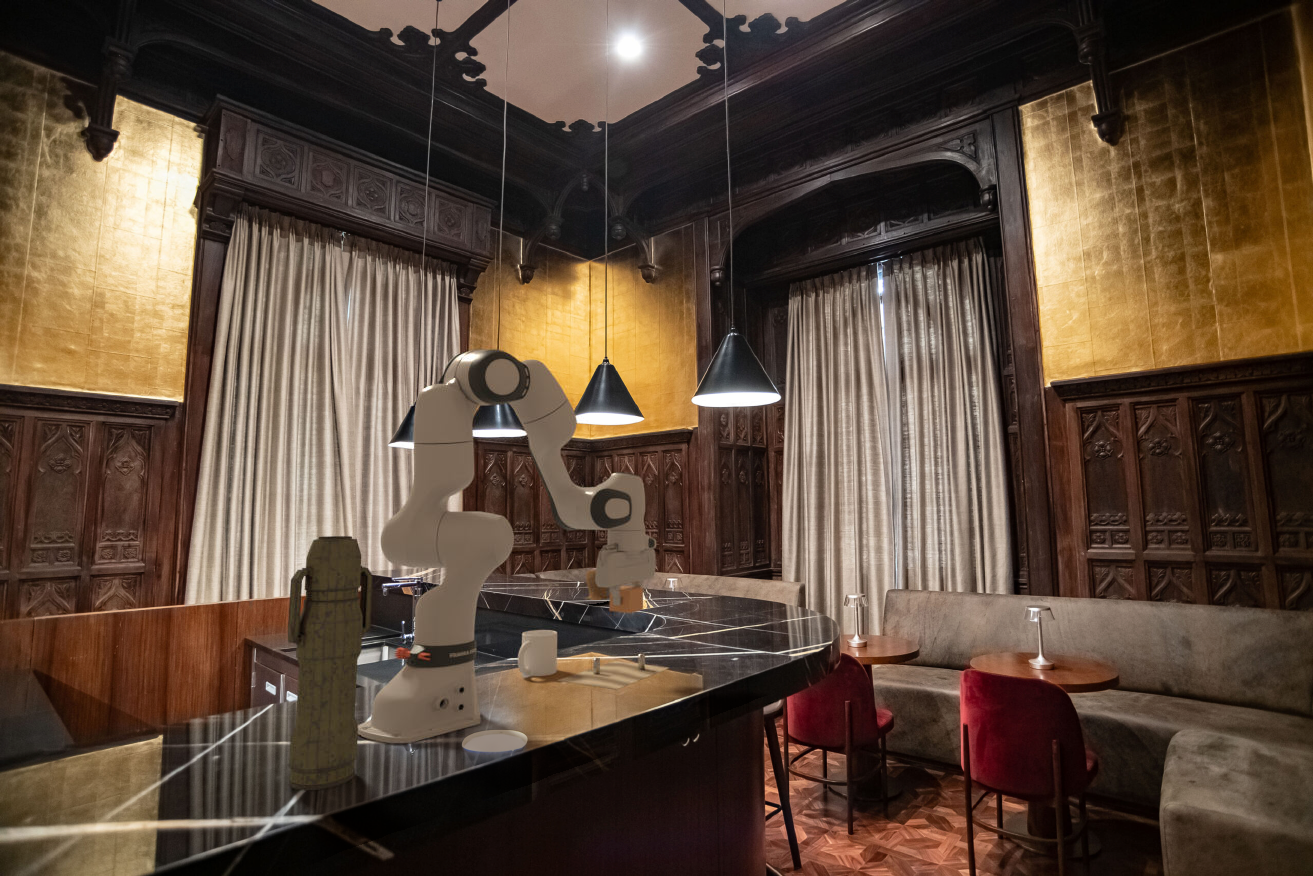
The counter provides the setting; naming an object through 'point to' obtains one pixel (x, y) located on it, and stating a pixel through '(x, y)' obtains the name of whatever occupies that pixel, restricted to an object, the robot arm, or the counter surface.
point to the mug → (538, 653)
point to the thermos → (327, 661)
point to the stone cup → (595, 587)
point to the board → (613, 675)
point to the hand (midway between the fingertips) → (626, 602)
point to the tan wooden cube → (628, 600)
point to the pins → (597, 663)
